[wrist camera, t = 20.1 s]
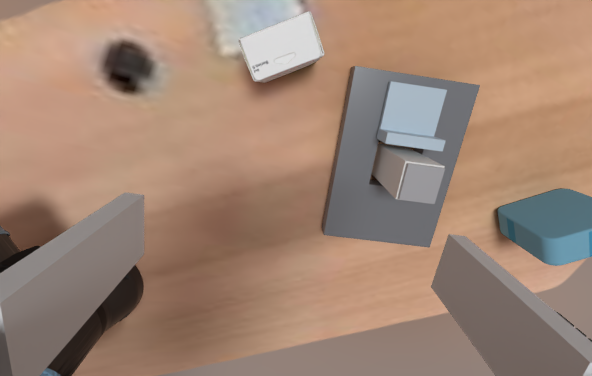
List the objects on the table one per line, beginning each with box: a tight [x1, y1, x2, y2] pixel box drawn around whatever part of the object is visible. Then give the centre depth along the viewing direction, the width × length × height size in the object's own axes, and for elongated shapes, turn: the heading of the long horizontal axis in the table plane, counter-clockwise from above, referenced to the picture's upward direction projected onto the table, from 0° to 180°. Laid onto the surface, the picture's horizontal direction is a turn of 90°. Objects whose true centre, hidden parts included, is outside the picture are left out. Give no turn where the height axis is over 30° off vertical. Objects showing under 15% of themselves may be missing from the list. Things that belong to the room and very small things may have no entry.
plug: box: [371, 144, 445, 204], centre depth 44 cm, size 5×5×13 cm
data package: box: [498, 189, 592, 266], centre depth 47 cm, size 12×4×12 cm, turn 109°
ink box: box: [238, 12, 324, 83], centre depth 39 cm, size 9×5×12 cm, turn 110°
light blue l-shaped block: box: [377, 81, 447, 152], centre depth 42 cm, size 8×8×4 cm
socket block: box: [322, 66, 480, 247], centre depth 48 cm, size 18×26×3 cm
